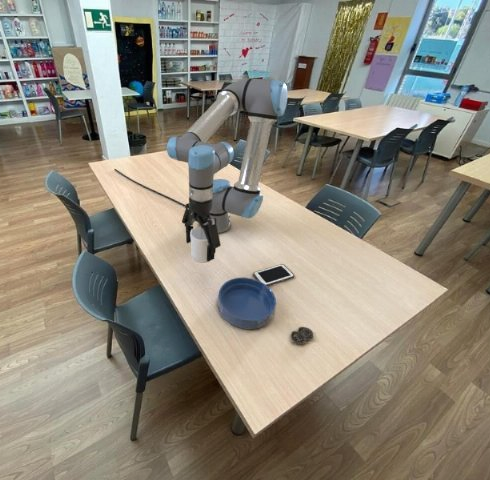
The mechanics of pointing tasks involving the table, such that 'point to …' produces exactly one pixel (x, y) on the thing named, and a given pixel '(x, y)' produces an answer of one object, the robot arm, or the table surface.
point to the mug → (198, 245)
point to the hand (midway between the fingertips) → (199, 250)
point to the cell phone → (273, 274)
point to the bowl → (246, 303)
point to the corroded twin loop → (302, 335)
